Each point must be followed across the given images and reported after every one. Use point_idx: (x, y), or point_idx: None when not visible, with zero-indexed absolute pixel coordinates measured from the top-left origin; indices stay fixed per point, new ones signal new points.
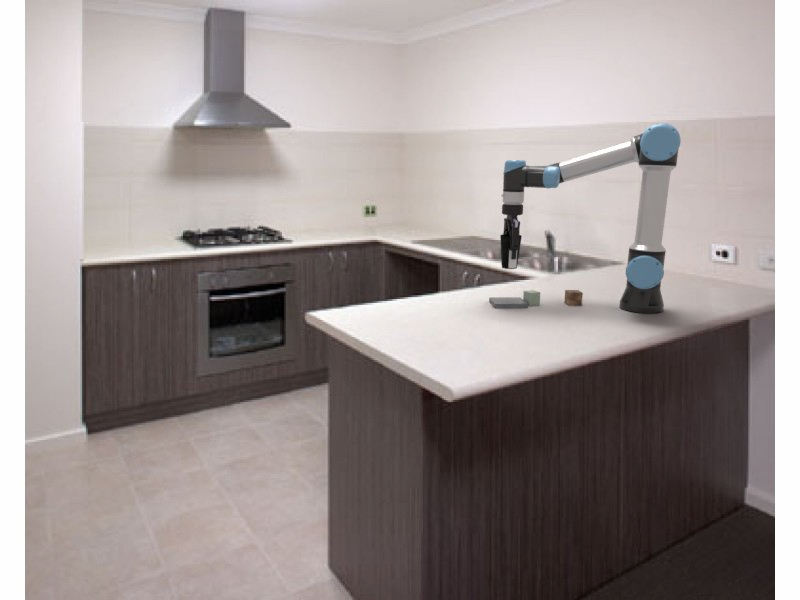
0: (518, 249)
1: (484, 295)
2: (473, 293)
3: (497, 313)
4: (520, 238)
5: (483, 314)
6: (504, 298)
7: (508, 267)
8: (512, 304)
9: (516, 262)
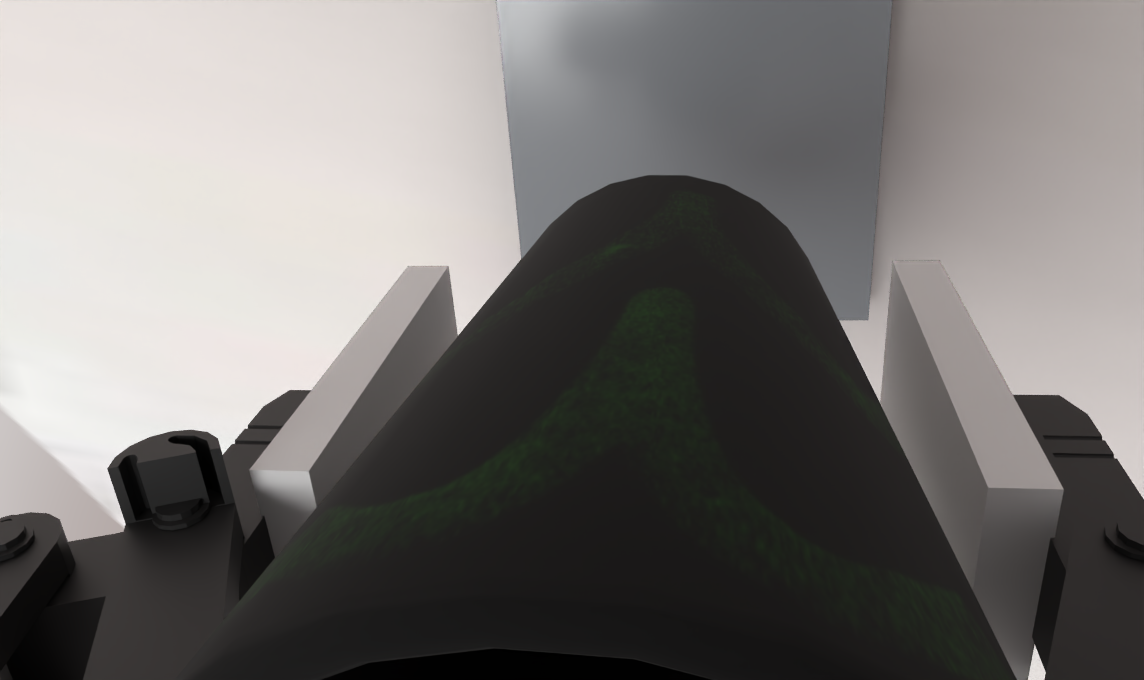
0: (858, 403)
1: (233, 286)
2: (159, 374)
3: (1111, 327)
4: (935, 647)
5: (1123, 464)
6: (576, 160)
7: (884, 405)
8: (881, 121)
9: (968, 315)
